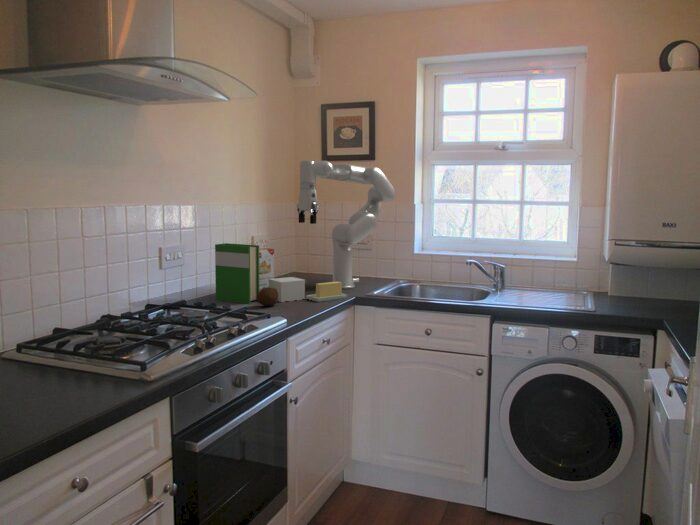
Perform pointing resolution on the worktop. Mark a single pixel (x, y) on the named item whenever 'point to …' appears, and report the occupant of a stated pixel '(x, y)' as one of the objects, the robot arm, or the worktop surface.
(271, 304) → the potato
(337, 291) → the tan wooden brick
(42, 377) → the worktop surface
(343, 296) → the tray
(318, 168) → the robot arm
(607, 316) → the worktop surface
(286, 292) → the notched white block
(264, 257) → the cracker box
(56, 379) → the worktop surface
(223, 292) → the hardback book
